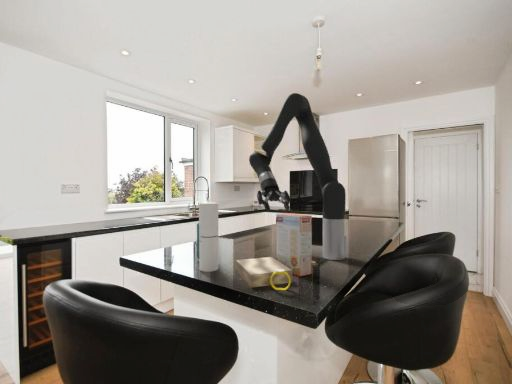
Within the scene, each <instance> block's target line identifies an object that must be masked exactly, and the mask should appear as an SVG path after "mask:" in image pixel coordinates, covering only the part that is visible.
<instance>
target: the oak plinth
mask: <svg viewBox="0 0 512 384" xmlns="http://www.w3.org/2000/svg"><path fill="white" fill-rule="evenodd" d="M277 269H284V270H285V272H286V273H288V275H289V276H290V280H291V283H293V274H292V270H291V269H290V268H288V267H287V266H285V265H283V264H282V263H280V262H279V261H277V259H275V258H274V257H272V256H267V257H257V258H246V259H245V258H244V259H236V260H235V271H236V273H237V275H239V276H240V277H241V278H242V279H243V280H244V281H245V283H246V284H247V285H248V286H249V287H250V288H258V287H268V286H271V283H270V279H271V276H272V274H273V273H274V272H276V270H277ZM272 282H273V285H274V286H275V285H283V284H289V279H288V277H287V275H285V274H284V273H283V274H277V273H276V274H275V275H274V276H273V277H272ZM291 283H290V284H291Z"/></svg>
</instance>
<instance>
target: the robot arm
mask: <svg viewBox="0 0 512 384" xmlns="http://www.w3.org/2000/svg"><path fill="white" fill-rule="evenodd" d="M294 118H295V119H296V121H297V123H298V125H299V129H300V133H301V144H302V147H303V150H304V152H305V154H306V158H307V159H308V161H309V163H310V165H311V168H312V169H313V171H314V172H315V174H316V177H317V179H318V180H317V181H318V183H319V186H320V189H321V194H322V258H323V259H325V260H328V261H329V260H331V261H342V260H344V259H347V258H348V255H347V250H348V249H347V246H348V245H347V238H348V237H347V235H345V231H346V230H345V229H346V228H345V218H346V216H345V215H346V197H347V195H346V189H345V187H344V185H343V184H342V183H340V182H339V180H338V179H337V177H336V175H335V173H334V170H333V168H332V163H331V157H330V154H329V151H328V148H327V145H326V143H325V140H324V138H323V136H322V134H321V131H320V129H319V128H318V126H317V123H316V121H315V119H314V114H313V111H312V108H311V105H310V102H309V100H308V98H307V97H306V96H305V95H302V94H300V93H297V92H294V93H291V94H289V95H288V96H287V97H286V99H285V101H284V103H283V105H282V107H281V108H280V112H279V113H278V116H277V118H276V120H275V122H274V124H273V126H272V128H271V129H270V131H269V132H268V134H267V135H266V136H265V138H264V140H263V142H261V149H262V150H263V151H264V152H265V154H263V153H261V152H258V151H253V152H251V154H250V155H249V158H248V161H249V164H250V167H251V168H252V170H253V171H254V172H255V173H256V175H257V178H258V181H259V185H260V188H261V189H260V190H258V191H257V194H256V198H257V203H258V205H260V206H261V205H263V207H264V209H265V211H266V212H267V213H269V212H270V210H271V207H270V204H269V201H270V202H278V203H279V204H282V205H283V208H284V209H285V211H286V212H289V210H290V208H291V207H290V205H289V204H290V203H291V201H292V199H291V197H290V194H289V192H288V191H287V190H284V191H281V190H280V187H279V184H278V181H277V180H276V177H275V175H274V173H273V171H272V169H271V167H270V164H271V162H272V159H273V157H274V154H275V151H276V150H277V148H278V147H279V145H280V144H281V142H282V141H283V138H284V136H285V133H286V131H287V128H288V126H289V124H290V122H292V120H294ZM261 191H262V192H261ZM263 198H265V199H263Z"/></svg>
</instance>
